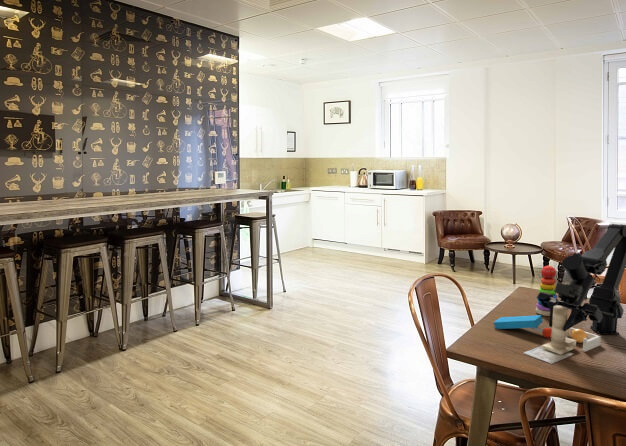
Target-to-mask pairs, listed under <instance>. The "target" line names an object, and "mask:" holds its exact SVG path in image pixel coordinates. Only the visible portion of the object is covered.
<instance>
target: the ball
mask: <svg viewBox="0 0 626 446" xmlns="http://www.w3.org/2000/svg"><path fill="white" fill-rule="evenodd" d="M585 332H586V331H585ZM585 332H584V330H583V329H581V328H575V330H573V331H572V333H571V337H570V338H571V339H573V340H576V343H583V339H584V338H586V337H587V336H586V333H585Z"/></svg>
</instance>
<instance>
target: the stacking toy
mask: <svg viewBox="0 0 626 446" xmlns="http://www.w3.org/2000/svg"><path fill="white" fill-rule="evenodd" d="M556 271H557V270H556V268H555V267H554V266H552V265H545V266H543V267H542V268H541V271H540V272H541V276H542V278H541V279H540V281H541V283H540V284H539V289H538V292H539V293H540V292H545V293H549V294H552V295H553V297H554V298H556V299H558V295H557V293H555V292H554V290H555V287H556V283H557V282H556V279H555V276H556V273H557V272H556ZM536 299H537V298H536ZM536 301H537V303H535V305H536V307H535V313H536V314H537V315H541V316H544V317H545V316H546V317H550V309H549V308H545V307H543V306H542V305H541V304H540V302H539V300H538V299H537V300H536Z"/></svg>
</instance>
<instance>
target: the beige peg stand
mask: <svg viewBox="0 0 626 446" xmlns="http://www.w3.org/2000/svg"><path fill="white" fill-rule="evenodd" d="M568 312H569V309H568V308H567V307H564V306H553V320H552V327H551V329H552V333H551V338H550V342H548V343H544V344H542V345H541V346H542V348H544V349H547V350H549V351H552V352H555V353H558V354H563V353H566V352H570V351H573V350H574V348H577V342H576V340H573V339H572V338H571V337H566V331H563V327H564V325H565V323H566V321H567V320H568Z"/></svg>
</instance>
